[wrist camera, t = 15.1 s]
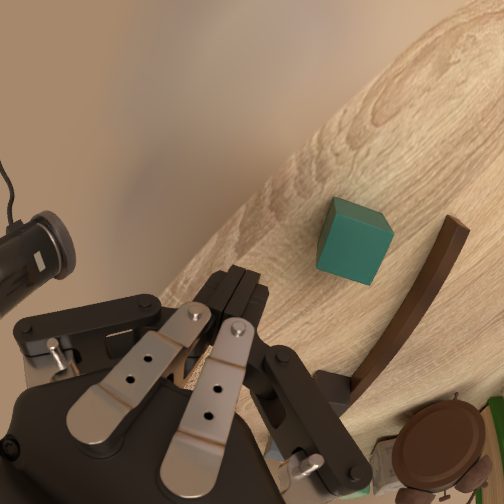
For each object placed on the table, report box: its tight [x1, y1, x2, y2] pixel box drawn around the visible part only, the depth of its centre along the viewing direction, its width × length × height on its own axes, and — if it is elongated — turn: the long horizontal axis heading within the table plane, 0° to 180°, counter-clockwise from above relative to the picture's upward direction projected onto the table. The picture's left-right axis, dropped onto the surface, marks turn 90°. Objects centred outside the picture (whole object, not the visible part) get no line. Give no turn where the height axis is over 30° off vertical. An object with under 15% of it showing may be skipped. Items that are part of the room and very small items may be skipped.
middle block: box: [313, 370, 350, 418], centre depth 29 cm, size 4×4×4 cm
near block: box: [316, 197, 394, 286], centre depth 20 cm, size 4×4×4 cm
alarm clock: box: [392, 392, 493, 504], centre depth 21 cm, size 15×7×20 cm, turn 126°
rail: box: [350, 215, 470, 406], centre depth 30 cm, size 48×2×2 cm, turn 167°
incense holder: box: [370, 438, 407, 496], centre depth 32 cm, size 10×8×10 cm
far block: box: [263, 435, 284, 462], centre depth 38 cm, size 4×4×4 cm
